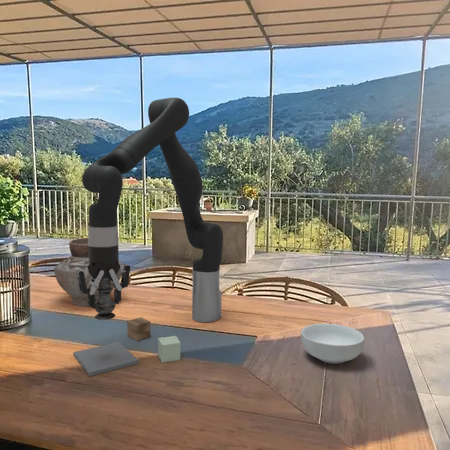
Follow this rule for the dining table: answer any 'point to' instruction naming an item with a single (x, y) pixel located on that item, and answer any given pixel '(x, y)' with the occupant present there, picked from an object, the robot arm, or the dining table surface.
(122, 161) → the robot arm
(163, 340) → the sage block
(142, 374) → the dining table surface
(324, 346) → the cereal bowl
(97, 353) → the serving board
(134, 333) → the walnut block
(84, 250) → the ceramic pot
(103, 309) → the salt shaker
